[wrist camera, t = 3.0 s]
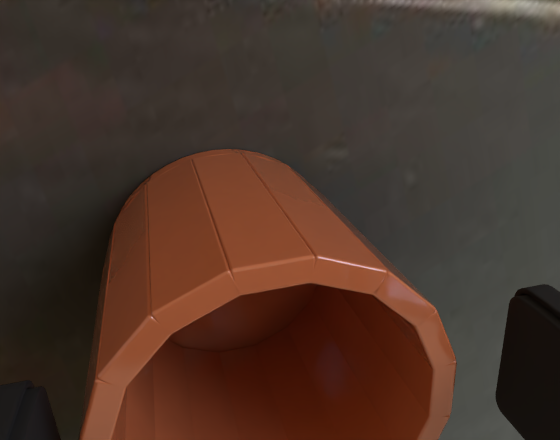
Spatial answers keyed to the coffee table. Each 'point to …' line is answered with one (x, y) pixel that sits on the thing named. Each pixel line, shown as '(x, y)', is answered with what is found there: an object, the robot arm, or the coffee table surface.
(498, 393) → the robot arm
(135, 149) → the coffee table surface
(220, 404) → the pot
